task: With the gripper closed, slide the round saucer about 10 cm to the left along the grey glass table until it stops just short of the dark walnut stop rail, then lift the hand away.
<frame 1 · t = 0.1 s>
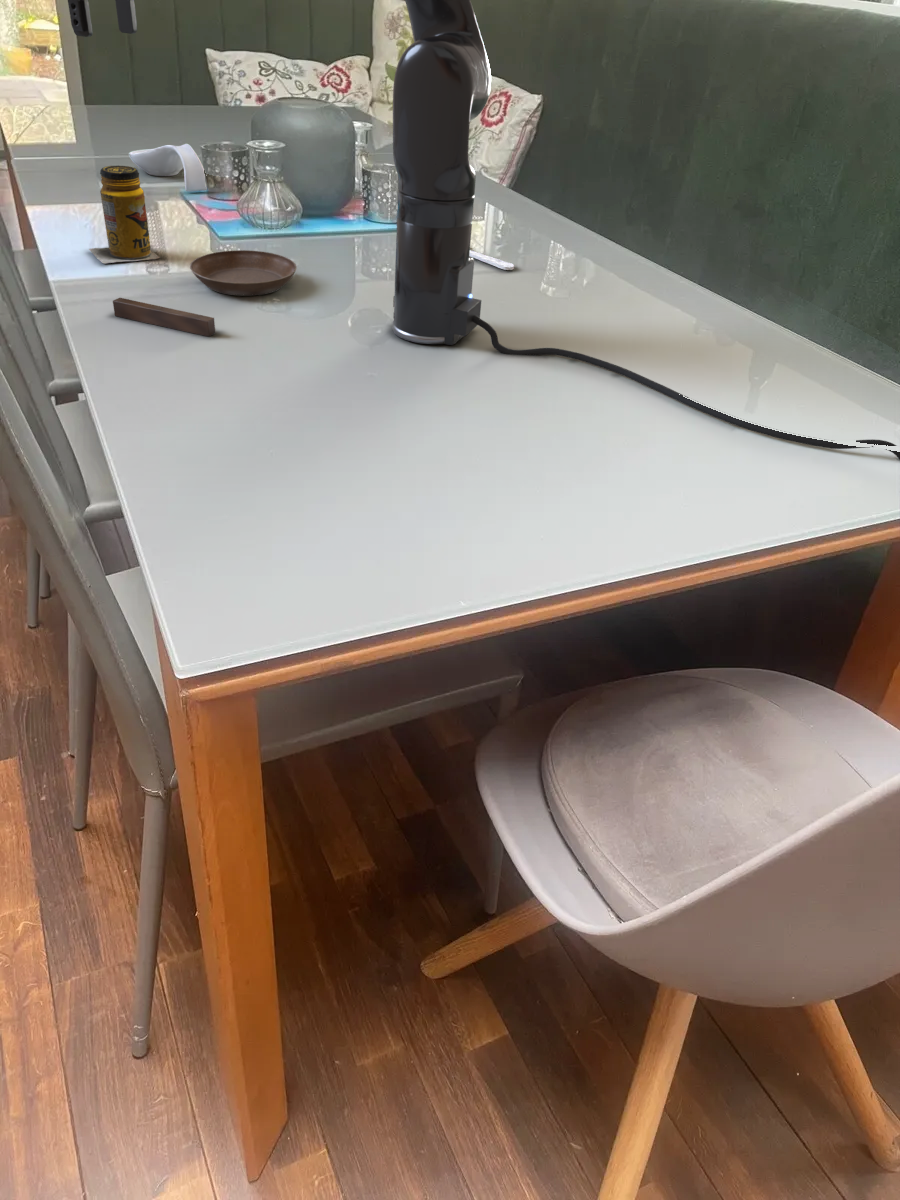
hand: (106, 34, 111), 29 cm above the table, tool pointing down, fingers open, 8 cm apart
condiment: (124, 256, 135), on the table
saucer: (245, 285, 128), on the table
spoon rest: (174, 180, 176), on the table
stop rail: (164, 324, 113), on the table
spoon: (472, 256, 147), on the table
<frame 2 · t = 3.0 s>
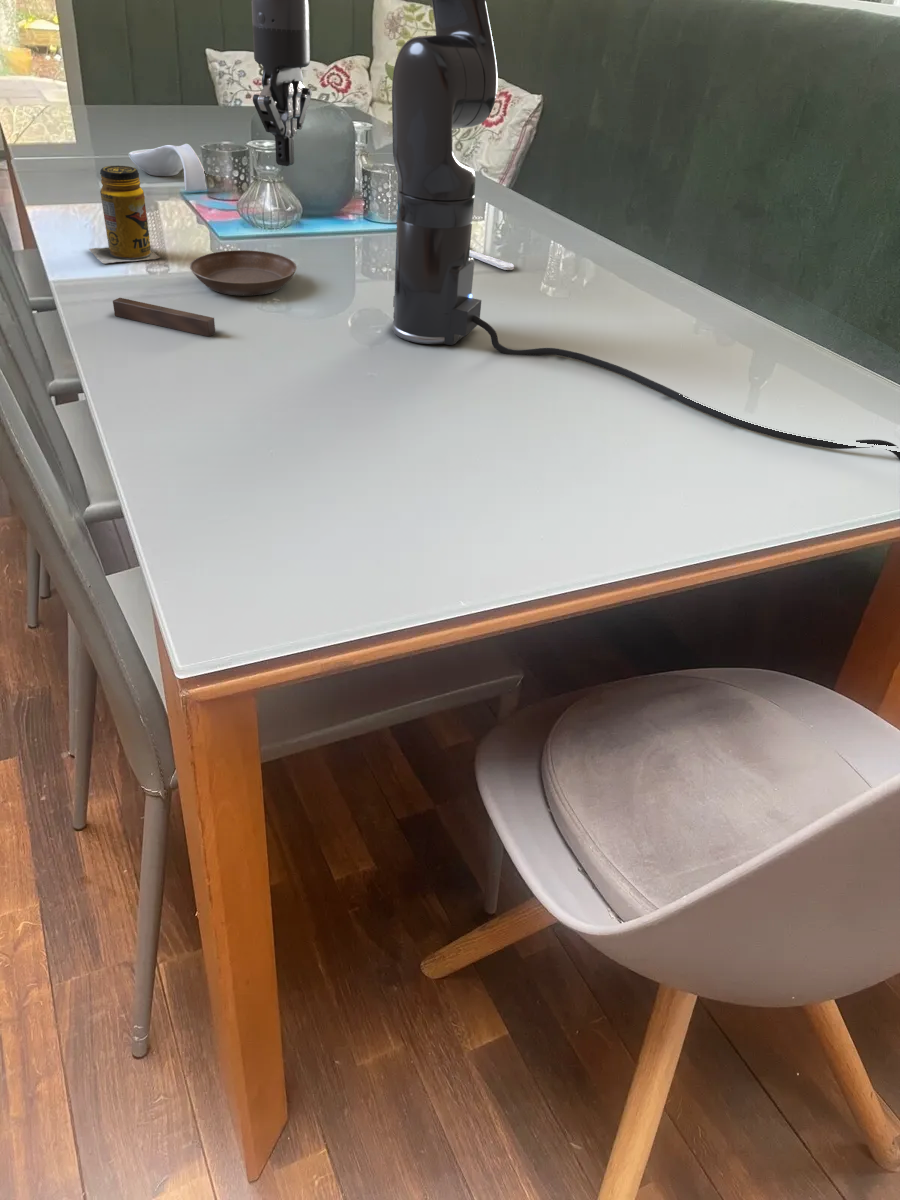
hand: (285, 164, 130), 14 cm above the table, tool pointing down, fingers closed
nothing on the table moved.
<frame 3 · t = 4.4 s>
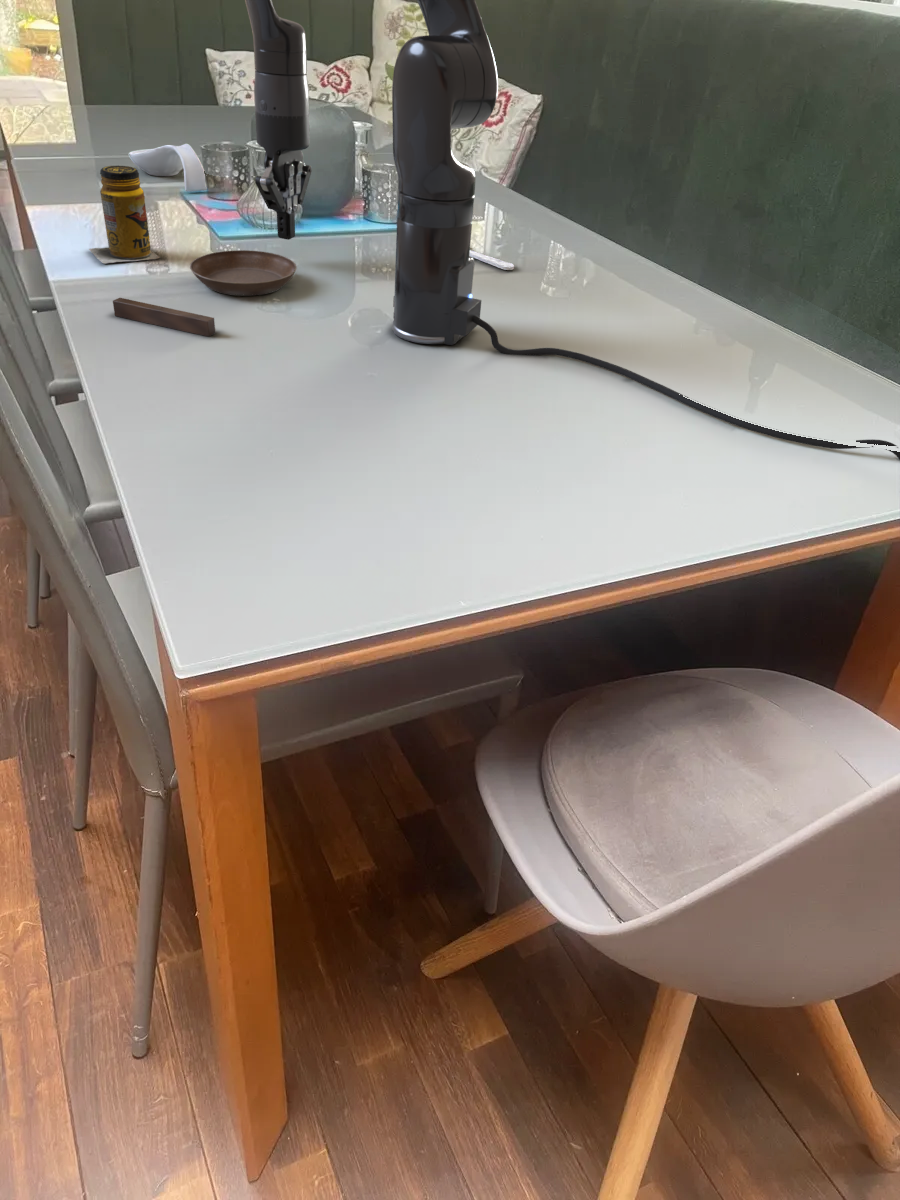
hand: (286, 237, 135), 4 cm above the table, tool pointing down, fingers closed
nothing on the table moved.
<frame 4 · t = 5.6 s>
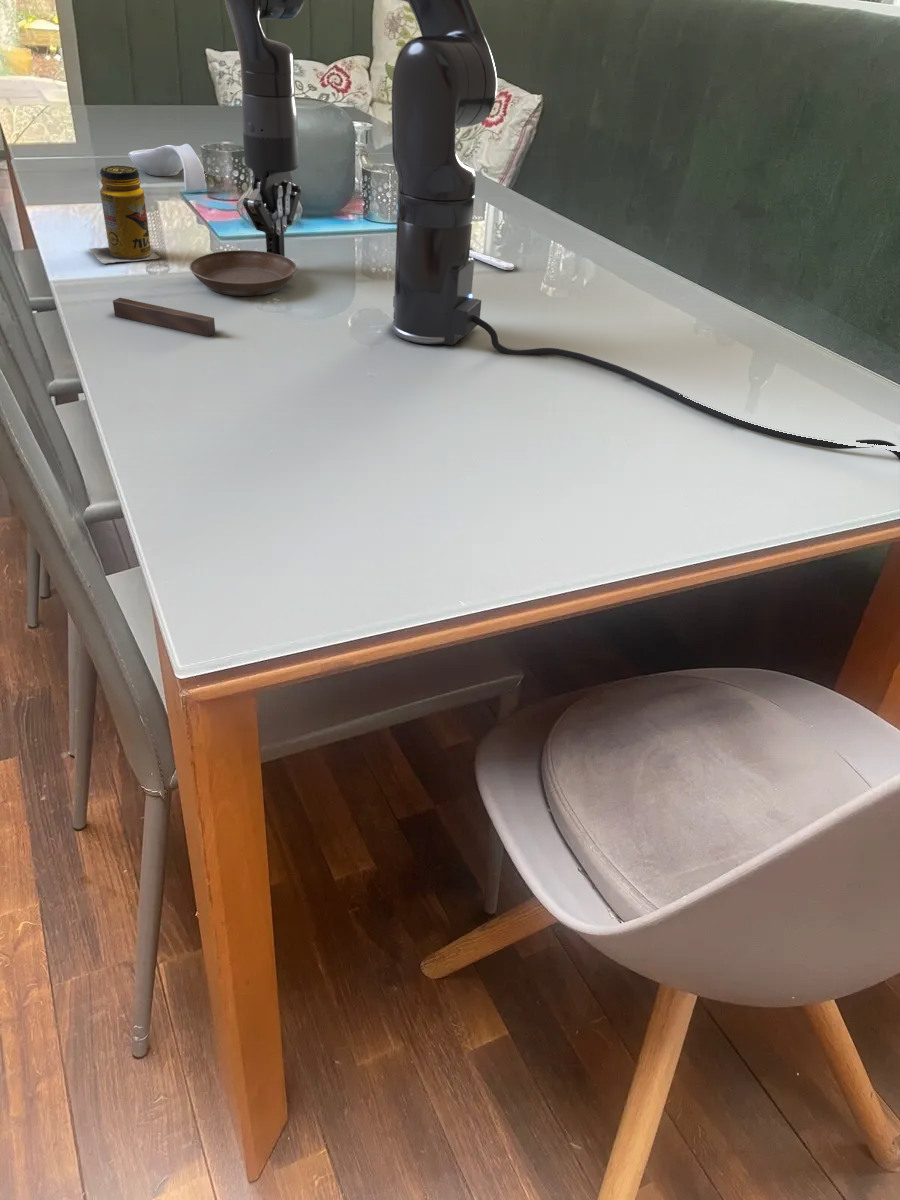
hand: (276, 258, 134), 2 cm above the table, tool pointing down, fingers closed
saucer: (244, 285, 128), on the table, touching gripper
everything else where it was.
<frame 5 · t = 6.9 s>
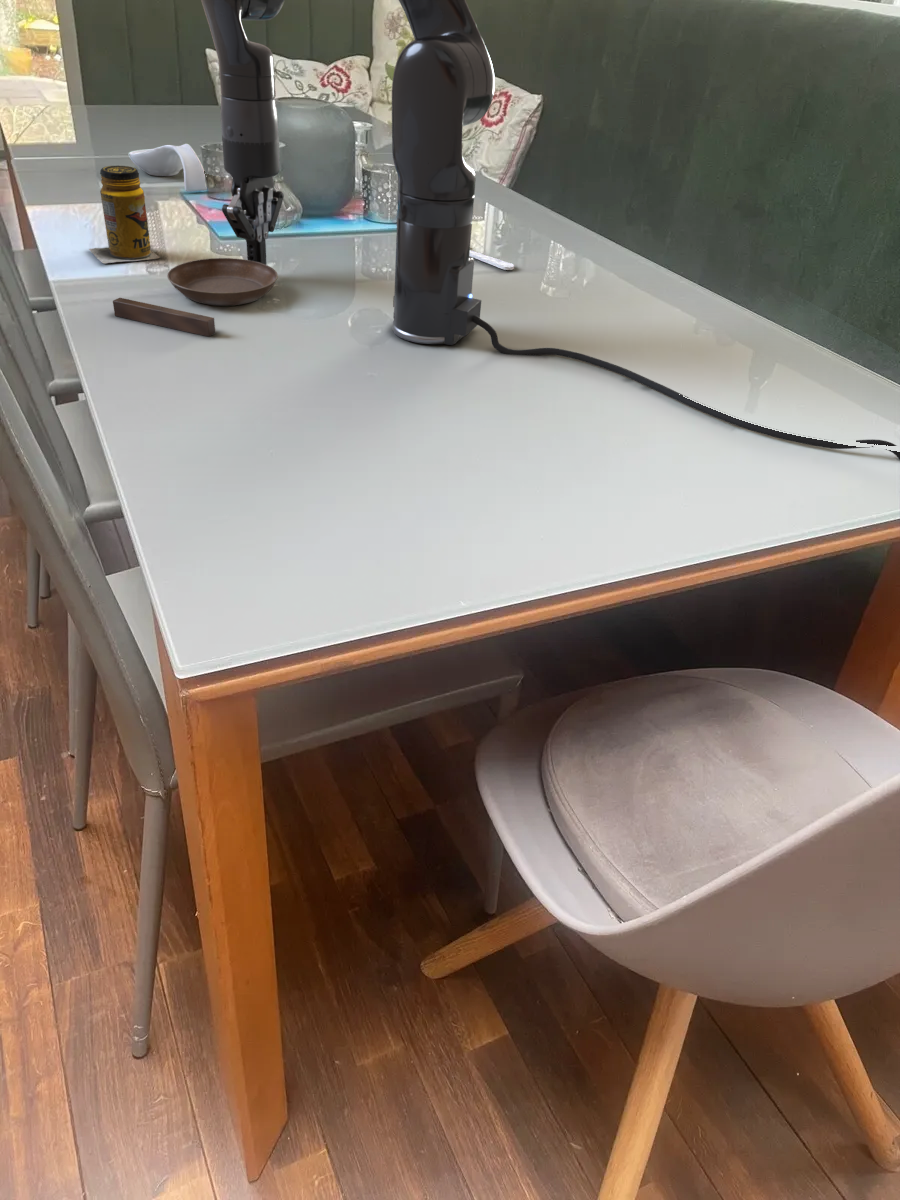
hand: (257, 266, 130), 2 cm above the table, tool pointing down, fingers closed
saucer: (224, 294, 124), on the table, touching gripper
everything else where it was.
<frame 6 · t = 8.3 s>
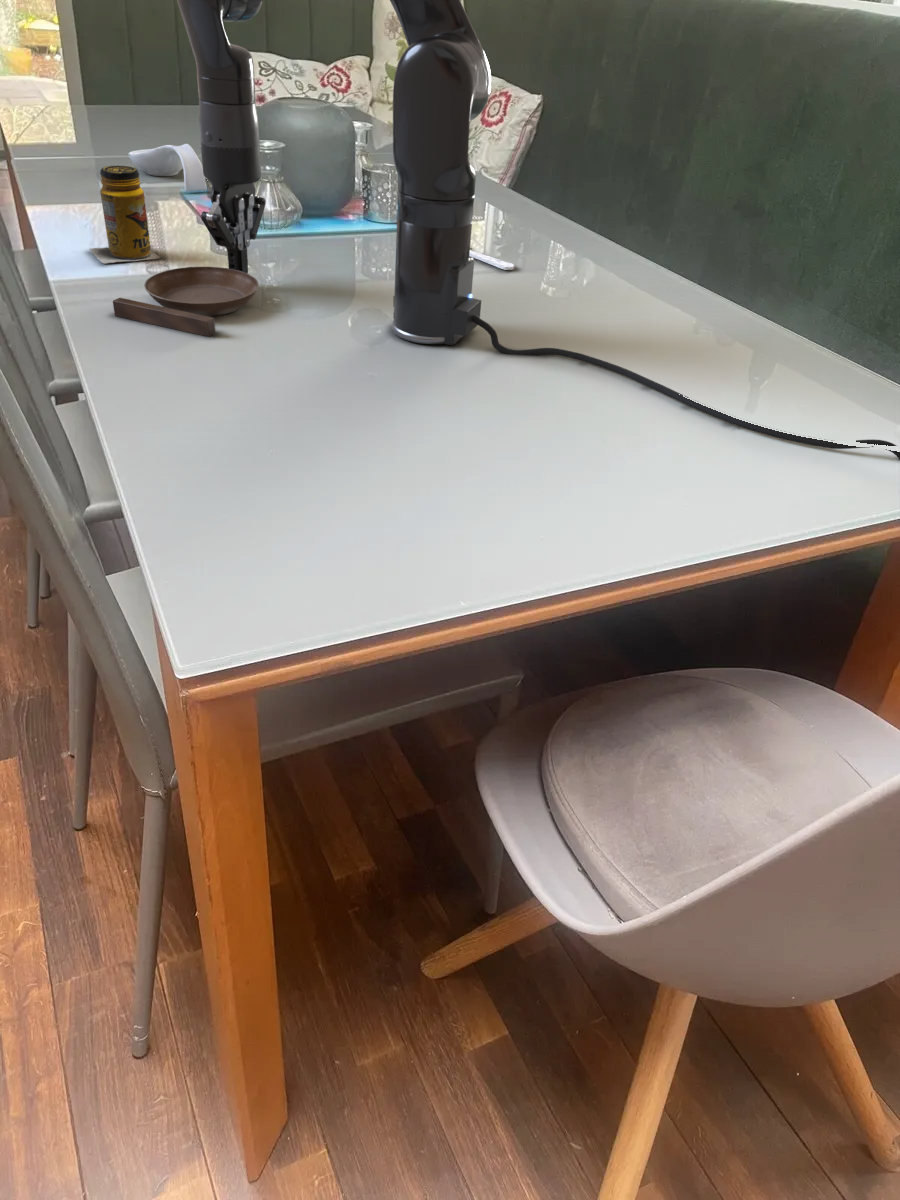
hand: (238, 274, 126), 2 cm above the table, tool pointing down, fingers closed
saucer: (204, 304, 120), on the table, touching gripper
everything else where it was.
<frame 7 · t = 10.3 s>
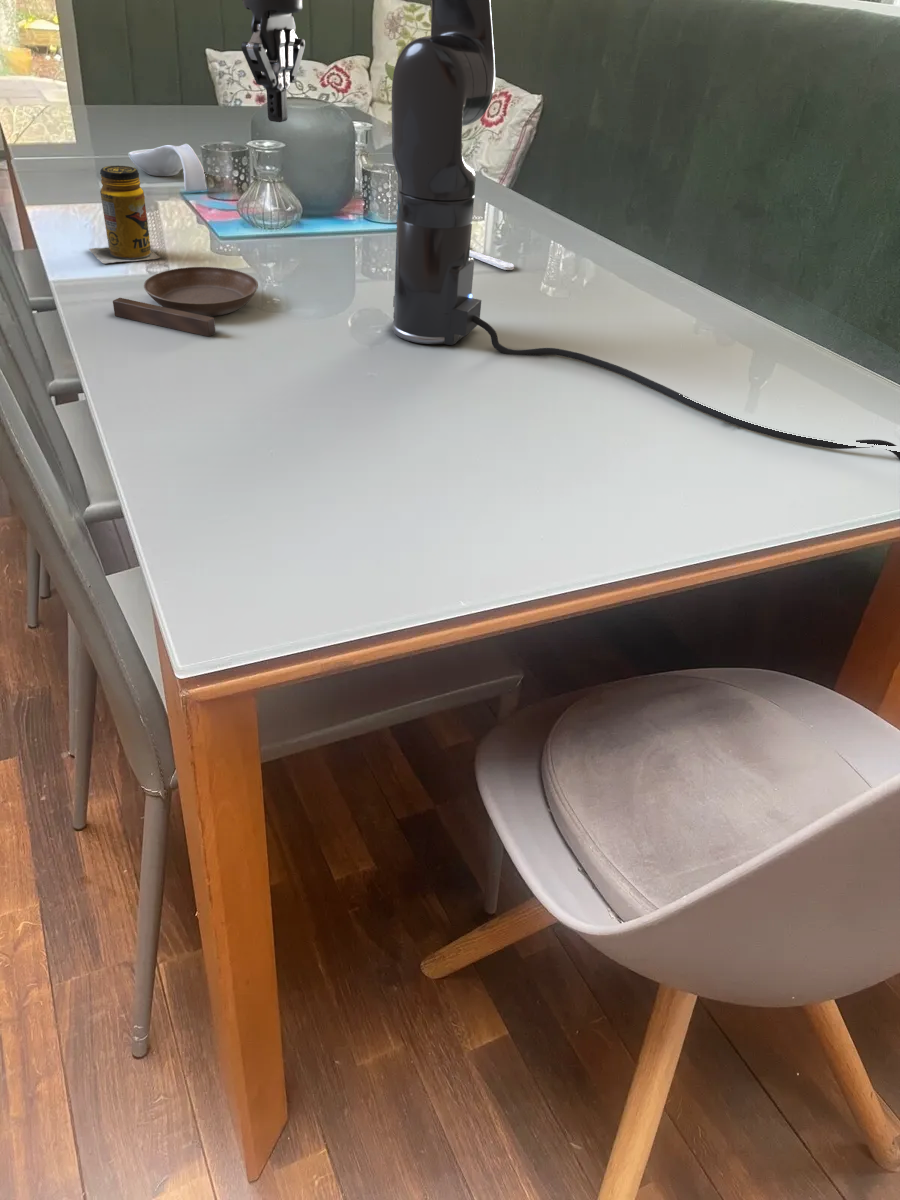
hand: (278, 120, 121), 20 cm above the table, tool pointing down, fingers closed
saucer: (203, 305, 120), on the table
everything else where it was.
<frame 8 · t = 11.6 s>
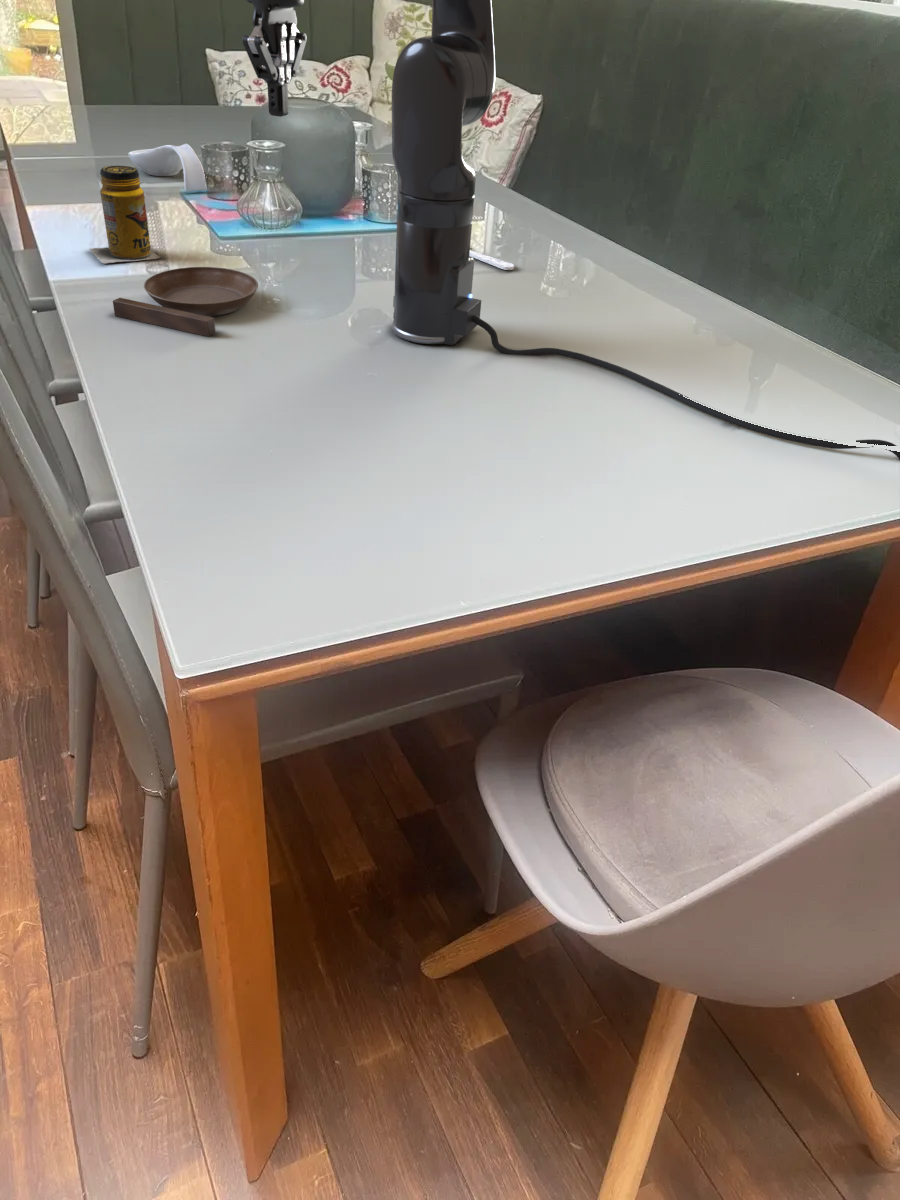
hand: (278, 115, 121), 21 cm above the table, tool pointing down, fingers closed
nothing on the table moved.
at the end: saucer inside the target area (1.0 cm from its centre), on the table; saucer moved 10.0 cm from its start; saucer tilted 0° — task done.
